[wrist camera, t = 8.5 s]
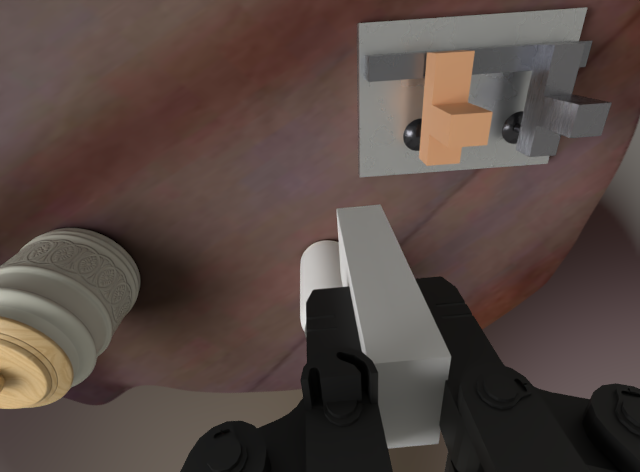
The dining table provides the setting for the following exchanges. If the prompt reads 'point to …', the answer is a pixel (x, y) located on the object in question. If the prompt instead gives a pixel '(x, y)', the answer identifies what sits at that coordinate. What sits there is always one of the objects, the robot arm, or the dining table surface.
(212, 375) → the dining table surface
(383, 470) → the robot arm
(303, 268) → the can
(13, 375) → the jar
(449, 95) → the orange t-shaped block
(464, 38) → the grey assembly fixture
